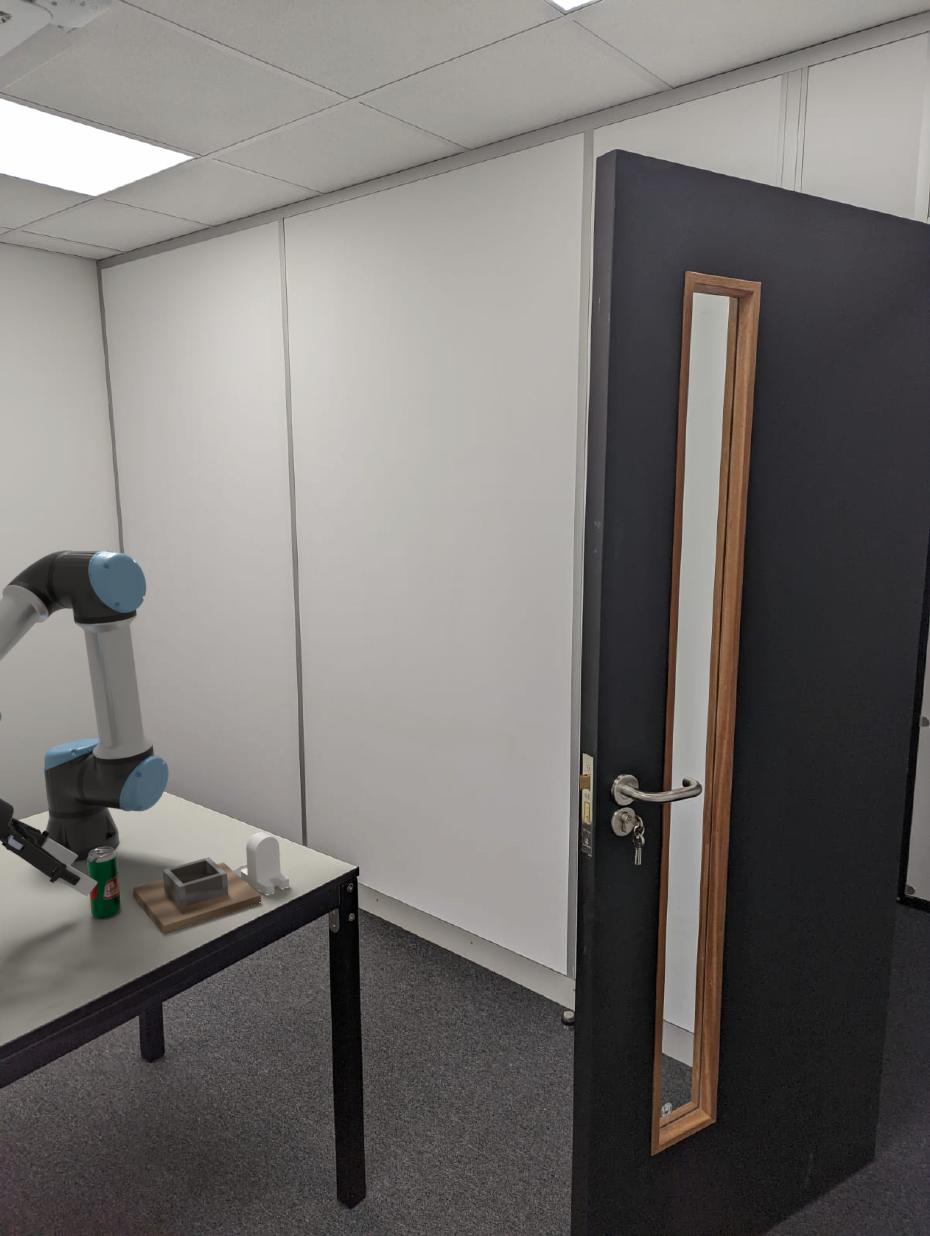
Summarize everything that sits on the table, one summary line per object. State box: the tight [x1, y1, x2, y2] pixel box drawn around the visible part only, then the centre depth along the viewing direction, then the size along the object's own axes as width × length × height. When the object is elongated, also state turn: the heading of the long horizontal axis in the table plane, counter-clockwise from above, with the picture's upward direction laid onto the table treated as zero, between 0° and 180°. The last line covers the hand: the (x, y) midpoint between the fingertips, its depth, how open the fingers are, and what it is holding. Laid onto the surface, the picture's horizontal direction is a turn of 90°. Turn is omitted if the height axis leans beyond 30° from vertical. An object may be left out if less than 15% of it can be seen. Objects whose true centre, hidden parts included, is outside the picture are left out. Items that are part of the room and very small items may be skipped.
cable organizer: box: [240, 831, 290, 895], centre depth 169 cm, size 5×10×10 cm, turn 44°
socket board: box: [132, 857, 262, 934], centre depth 163 cm, size 18×18×6 cm
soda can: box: [86, 847, 122, 920], centre depth 157 cm, size 5×5×12 cm
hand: (82, 875), depth 154 cm, fingers open, 13 cm apart
